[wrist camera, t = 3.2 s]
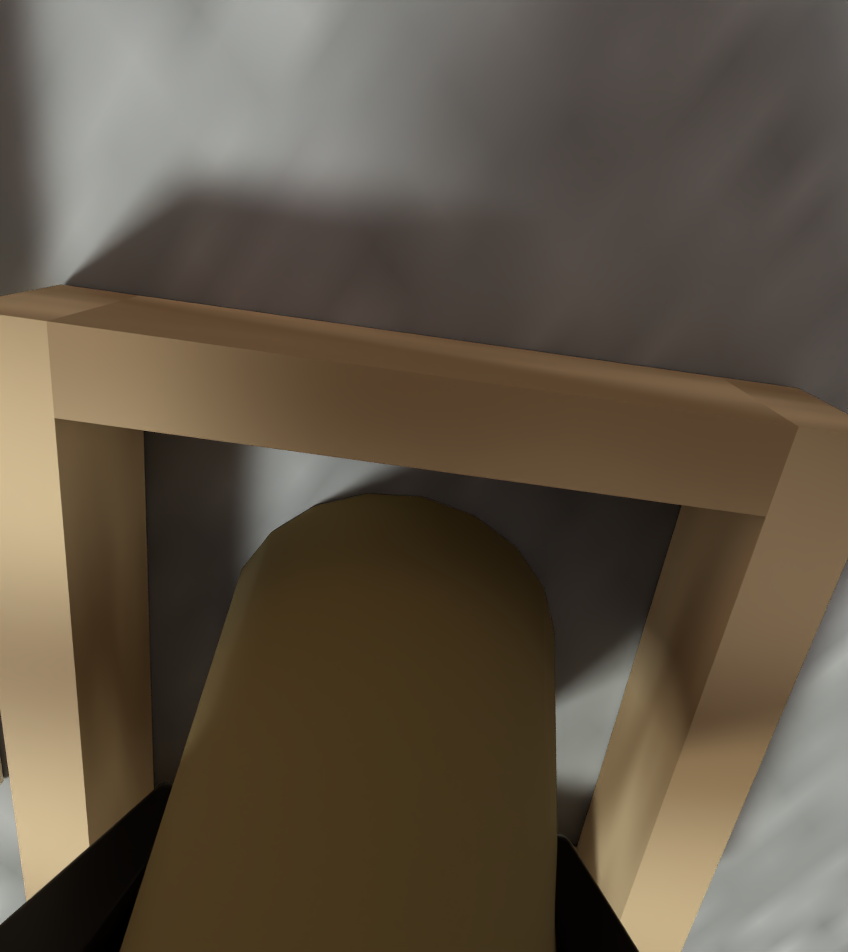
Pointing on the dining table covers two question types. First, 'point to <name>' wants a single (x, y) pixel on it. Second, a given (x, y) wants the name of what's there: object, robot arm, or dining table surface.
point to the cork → (367, 749)
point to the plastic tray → (0, 774)
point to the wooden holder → (424, 447)
